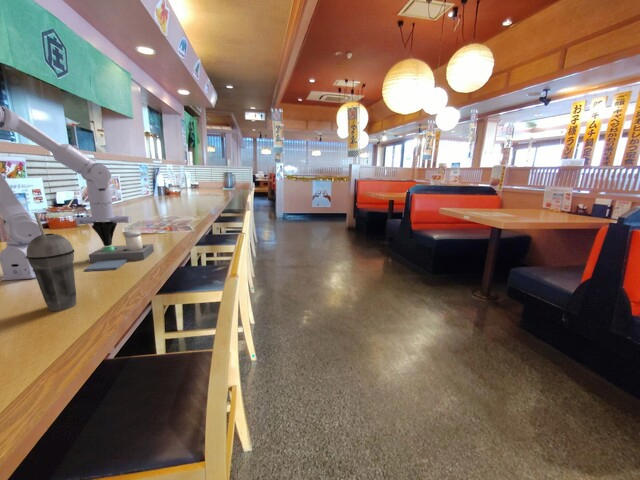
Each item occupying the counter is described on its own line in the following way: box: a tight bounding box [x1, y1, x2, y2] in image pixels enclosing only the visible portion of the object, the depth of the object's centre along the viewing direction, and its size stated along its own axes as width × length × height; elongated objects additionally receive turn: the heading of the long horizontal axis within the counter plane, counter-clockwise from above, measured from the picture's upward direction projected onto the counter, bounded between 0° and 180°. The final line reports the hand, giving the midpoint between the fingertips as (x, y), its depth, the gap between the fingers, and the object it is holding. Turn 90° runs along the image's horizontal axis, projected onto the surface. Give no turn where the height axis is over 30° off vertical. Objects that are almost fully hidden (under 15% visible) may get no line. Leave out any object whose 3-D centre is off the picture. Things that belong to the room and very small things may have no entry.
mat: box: [84, 259, 129, 272], centre depth 87 cm, size 8×8×1 cm
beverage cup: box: [26, 212, 77, 312], centre depth 60 cm, size 7×7×20 cm
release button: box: [103, 245, 115, 251], centre depth 95 cm, size 3×3×3 cm
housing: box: [88, 243, 155, 264], centre depth 96 cm, size 10×15×2 cm, turn 103°
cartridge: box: [123, 230, 143, 251], centre depth 96 cm, size 5×5×8 cm
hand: (108, 245), depth 95 cm, fingers closed
